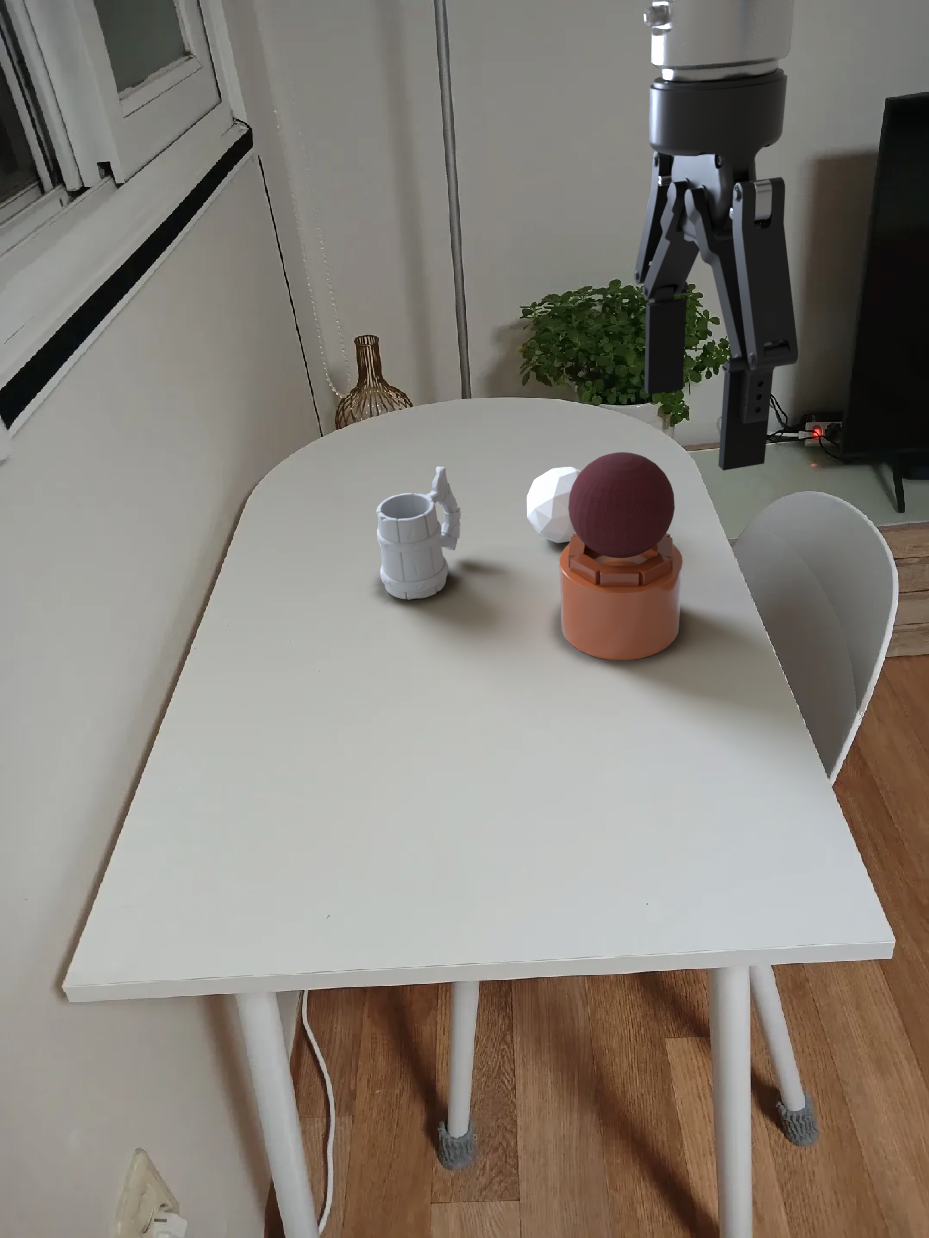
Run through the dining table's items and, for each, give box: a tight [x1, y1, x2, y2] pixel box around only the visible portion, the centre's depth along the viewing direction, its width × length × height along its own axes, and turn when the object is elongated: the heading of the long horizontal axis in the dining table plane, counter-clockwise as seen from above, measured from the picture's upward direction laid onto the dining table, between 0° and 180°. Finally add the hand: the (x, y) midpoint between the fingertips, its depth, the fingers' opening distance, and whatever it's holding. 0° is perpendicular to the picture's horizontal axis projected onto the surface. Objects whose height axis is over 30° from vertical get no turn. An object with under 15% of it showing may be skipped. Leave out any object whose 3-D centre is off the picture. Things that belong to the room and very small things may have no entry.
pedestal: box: [559, 532, 684, 661], centre depth 96 cm, size 12×12×10 cm
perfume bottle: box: [526, 466, 582, 544], centre depth 113 cm, size 9×9×12 cm
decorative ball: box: [568, 451, 676, 558], centre depth 91 cm, size 10×10×10 cm
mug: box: [376, 465, 462, 600], centre depth 106 cm, size 8×12×12 cm, turn 140°
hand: (699, 425), depth 65 cm, fingers open, 13 cm apart
